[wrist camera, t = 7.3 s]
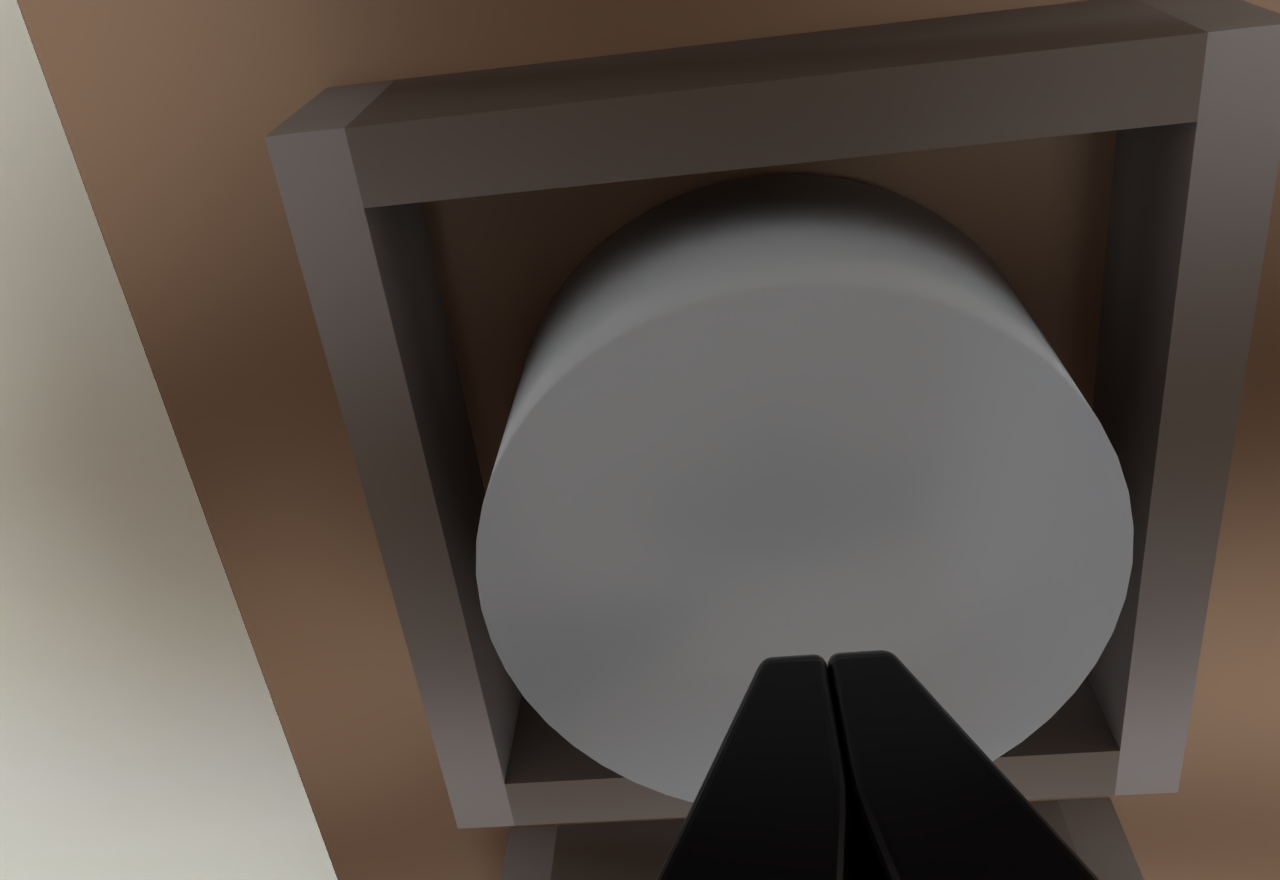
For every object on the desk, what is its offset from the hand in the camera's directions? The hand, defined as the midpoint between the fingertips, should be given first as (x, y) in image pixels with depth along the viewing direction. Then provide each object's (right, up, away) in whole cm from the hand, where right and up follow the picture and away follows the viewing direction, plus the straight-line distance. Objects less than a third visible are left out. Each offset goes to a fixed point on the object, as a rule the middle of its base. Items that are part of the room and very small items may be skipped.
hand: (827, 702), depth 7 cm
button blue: (0, +2, +3) cm, 4 cm away
